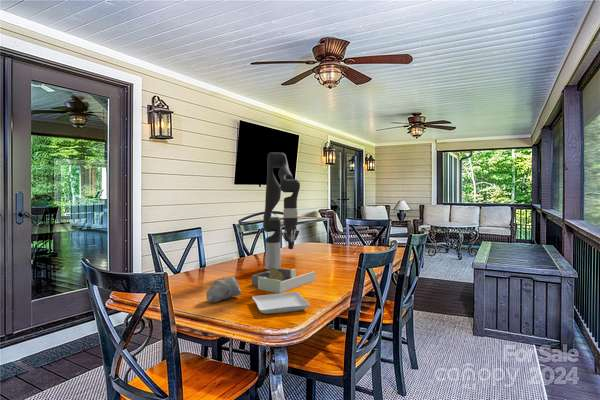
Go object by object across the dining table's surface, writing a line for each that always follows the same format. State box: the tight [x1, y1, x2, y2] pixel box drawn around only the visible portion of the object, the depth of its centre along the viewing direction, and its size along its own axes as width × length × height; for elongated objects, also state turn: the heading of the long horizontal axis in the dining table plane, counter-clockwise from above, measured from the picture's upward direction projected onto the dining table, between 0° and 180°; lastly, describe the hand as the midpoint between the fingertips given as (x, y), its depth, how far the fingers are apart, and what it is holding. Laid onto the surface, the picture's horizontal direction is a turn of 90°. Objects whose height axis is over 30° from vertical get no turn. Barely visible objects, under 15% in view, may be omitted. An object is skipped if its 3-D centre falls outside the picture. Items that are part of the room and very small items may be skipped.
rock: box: [269, 268, 286, 281], centre depth 196 cm, size 11×9×10 cm
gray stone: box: [205, 276, 242, 304], centre depth 174 cm, size 16×15×10 cm
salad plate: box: [251, 291, 310, 315], centre depth 162 cm, size 21×21×3 cm
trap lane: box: [251, 267, 316, 294], centre depth 204 cm, size 23×31×6 cm
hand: (290, 248), depth 203 cm, fingers closed
